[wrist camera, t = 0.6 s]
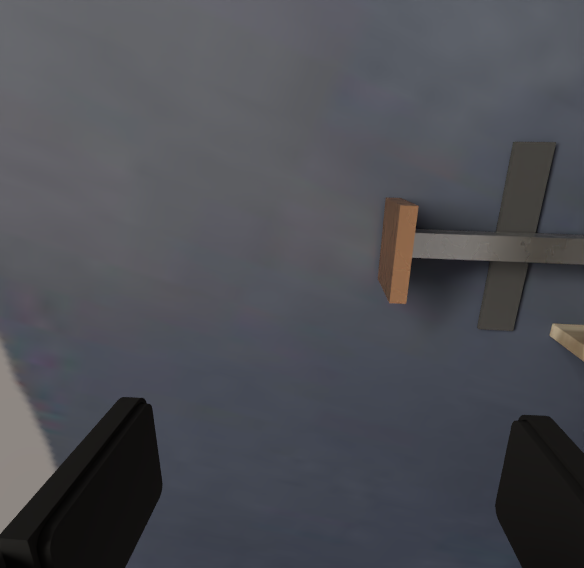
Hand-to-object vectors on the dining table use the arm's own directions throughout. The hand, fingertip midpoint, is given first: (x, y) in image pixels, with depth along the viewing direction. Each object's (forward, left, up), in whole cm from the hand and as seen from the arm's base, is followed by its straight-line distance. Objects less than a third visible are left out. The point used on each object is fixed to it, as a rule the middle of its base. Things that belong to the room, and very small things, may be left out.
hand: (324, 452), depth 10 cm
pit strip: (-1, +16, -25) cm, 29 cm away
